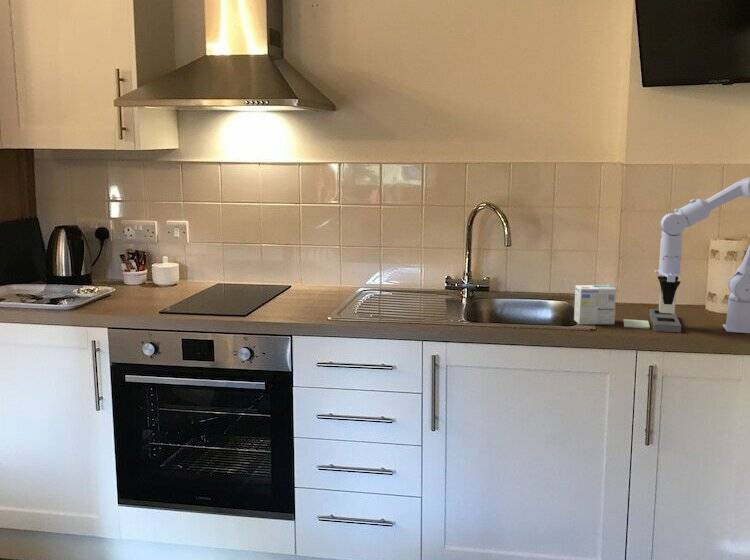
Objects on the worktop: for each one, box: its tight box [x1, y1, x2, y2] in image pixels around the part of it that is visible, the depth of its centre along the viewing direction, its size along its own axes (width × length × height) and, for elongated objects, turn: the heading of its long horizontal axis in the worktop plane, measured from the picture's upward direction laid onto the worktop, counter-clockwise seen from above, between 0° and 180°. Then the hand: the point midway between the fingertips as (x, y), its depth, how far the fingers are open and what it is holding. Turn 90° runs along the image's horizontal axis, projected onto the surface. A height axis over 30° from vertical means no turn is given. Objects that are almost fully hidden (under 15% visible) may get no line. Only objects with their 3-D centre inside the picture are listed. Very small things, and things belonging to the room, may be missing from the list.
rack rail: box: [648, 308, 682, 334], centre depth 234 cm, size 7×21×2 cm, turn 165°
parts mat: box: [622, 318, 651, 329], centre depth 233 cm, size 7×8×1 cm
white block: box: [658, 289, 677, 314], centre depth 230 cm, size 4×4×6 cm
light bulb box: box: [573, 284, 617, 325], centre depth 235 cm, size 11×7×11 cm, turn 92°
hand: (667, 302), depth 230 cm, fingers closed on white block, 4 cm apart
